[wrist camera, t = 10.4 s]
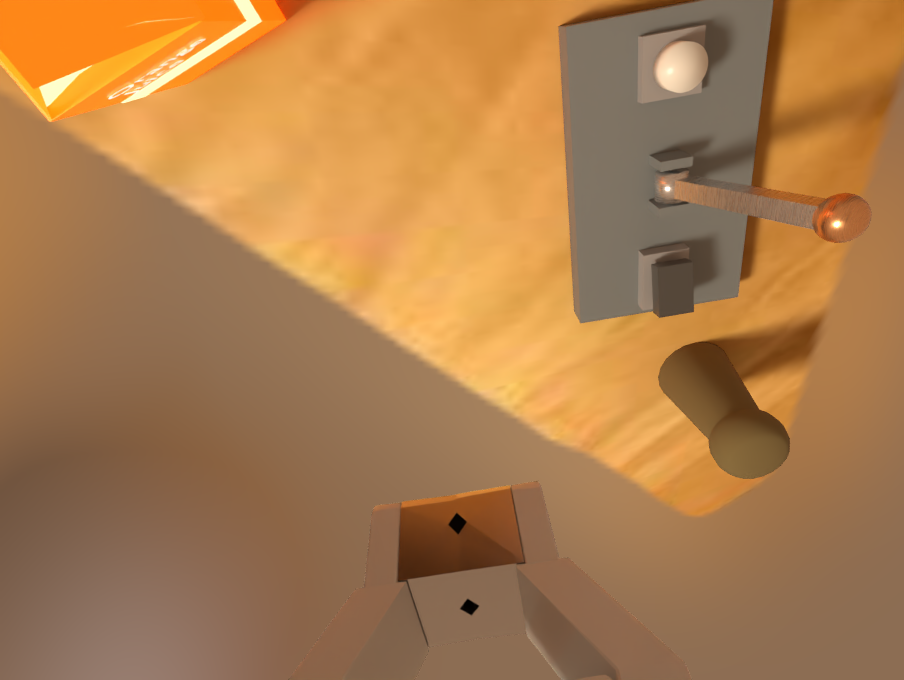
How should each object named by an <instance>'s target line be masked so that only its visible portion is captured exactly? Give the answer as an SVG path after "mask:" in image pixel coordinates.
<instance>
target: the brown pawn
mask: <svg viewBox="0 0 904 680" xmlns="http://www.w3.org/2000/svg"><path fill="white" fill-rule="evenodd" d="M658 378H659V385H660V387H661V389H662V390H663V392H664V393H665V394H666V395H667V396H668V397H669V398H670V399H671V400H672V402H673V403H674V404H675V405H676V406H677V407H678V408H679V409H680V410H681V411H682V412H683V413H684V414H685V415H686V416H687V417H688V418H689V419H690V420H691V421H692V422H693V424H694V425H695V426H696V427H697V428H698V429H699V430H700V431H701V432H702V433H703V434H704V435H705V436H706V437H707V438H708V439H709V448H710V452H711V455H712V456H713V458H714V460H715V461H716V463H717V464H718V466H719V467H720V468H721V469H723V470H724V471H725V472H727V473H729V474H730V475H732V476H735V477H739V478H743V479H754V478H758V477H762V476H765V475H767V474H769V473H771V472H773V471H774V470H776V469H777V468H778V467H780V466H781V465H782V463H783V462H784V461H785V460H786V459H787V456H788V454H789V450H790V438H789V436H788V434H787V432H786V430H785V428H784V426H783V425H782V424H781V423H780V421H779V420H777V419H776V418H775V417H773V416H772V415H770V414H769V413H767V412H765V411H761V410H759V408H758V407H757V405H756V403H755V402H754V400H753V398H752V397H751V395H750V393H749V392H748V390H747V388H746V387H745V385H744V383H743V382H742V380H741V378H740V377H739V375H738V374H737V372H736V370H735V369H734V367H733V365H732V364H731V362H730V360H729V359H728V357H727V355H726V354H725V352H724V351H723V350H722V349H721V348H720V347H718V346H717V345H714V344H711V343H707V342H705V343H693V344H690V345H686V346H684V347H682V348H680V349H678V350H676V351H675V352H673V353H672V354H671V355H670V356H669V357H668V358H667V359H666V360H665V362H664V364H663V365H662V367H661V368H660V373H659V377H658Z"/></svg>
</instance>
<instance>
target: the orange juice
mask: <svg viewBox="0 0 904 680" xmlns="http://www.w3.org/2000/svg"><path fill="white" fill-rule="evenodd" d="M285 21H286V19H285V17H284V16H283V14H282V12H281V10H280V9H279V7H278V5H277V4H276V2H275V0H0V64H1V66H2V67H3V68H4V69H5V70H6V71H7V73H8V74H9V75H10V76H11V77H12V78H13V80H14V81H15V82H16V83H17V84H18V86H19V87H20V88H21V89H22V90H23V91H24V93H25V94H26V95H27V96H28V97H29V98H30V100H31V101H32V102H33V103H34V104H35V105H36V107H37V108H38V109H39V110H40V111H41V112H42V114H43V115H44V116H45V117H46V118H47V119H48V121H49V122H52V121H56V120H60V119H63V118H67V117H70V116H74V115H78V114H81V113H85V112H88V111H92V110H95V109H99V108H103V107H106V106H110V105H113V104H117V103H120V102H121V103H125V102H128V101H132V100H135V99H139V98H142V97H145V96H147V95H149V94H153V93H156V92H160V91H163V90H167V89H171V88H174V87H178V86H181V85H185V84H188V83H189V82H191V81H192V80H194V79H195V78H197V77H199V76H200V75H202V74H203V73H205V72H206V71H208V70H210V69H211V68H213V67H214V66H216V65H217V64H219V63H220V62H222V61H224V60H225V59H227V58H228V57H230V56H231V55H233V54H235V53H236V52H238V51H239V50H241V49H242V48H244V47H246V46H247V45H249V44H250V43H252V42H253V41H255V40H257V39H258V38H260V37H261V36H263V35H264V34H266V33H267V32H269V31H271V30H272V29H274V28H275V27H277V26H278V25H280V24H282V23H283V22H285Z"/></svg>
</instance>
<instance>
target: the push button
mask: <svg viewBox="0 0 904 680" xmlns="http://www.w3.org/2000/svg"><path fill="white" fill-rule="evenodd" d="M707 68H708V56H707V53H706V50H705V49H704V48H703V46H701V45H700V44H698V43H696V42H691V41H674V42H671V43H669V44H667V45H666V46H665V47H663V48H662V49H661V51H660V52H659V53H658V55H657V56H656V59H655V61H654V65H653V76H654V79H655V82H656V83H657V84H658V85H659V86H660V87H661V88H663V89H665V90H669V91H672V92H676V93H684V92H688V91H690V90H692V89H693V88H695V87H696V86H697V85H698V84H699V83H700V82H701V81H702V79H703V78H704V76H705V74H706V71H707Z"/></svg>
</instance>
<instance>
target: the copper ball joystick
mask: <svg viewBox="0 0 904 680" xmlns="http://www.w3.org/2000/svg"><path fill="white" fill-rule="evenodd" d="M654 200H655V201H656V202H658V203H663V204H674V203H679V202H683V201H686V202H691V203H695V204H700V205H704V206H709V207H713V208H718V209H722V210H727V211H732V212H736V213H741V214H745V215H750V216H754V217H759V218H763V219H768V220H773V221H777V222H782V223H786V224H791V225H795V226H800V227H805V228H809V229H814V231H815V232H816V234H817V235H818V236H819V237H821V238H822V239H824V240H826V241H829V242H834V243H842V242H847V241H851V240H853V239H855V238H857V237H858V236H860V235H861V234H862V233H863V232H864V231H865V230H866V229H867V228H868V226H869V224H870V221H871V216H872V214H871V209H870V206H869V204H868V203H867V202H866V201H865V200H864V199H863V198H862V197H860V196H857V195H855V194H849V193H842V194H836V195H833V196H830V197H828V198H827V199H825V198H819V197H813V196H807V195H802V194H796V193H790V192H784V191H778V190H772V189H767V188H761V187H755V186H749V185H743V184H738V183H732V182H726V181H720V180H714V179H708V178H703V177H697V176H691V175H689V169H688V168H679V169H674V170H668V171H663V172H660V171H658V170H657V171H655V195H654Z"/></svg>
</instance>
